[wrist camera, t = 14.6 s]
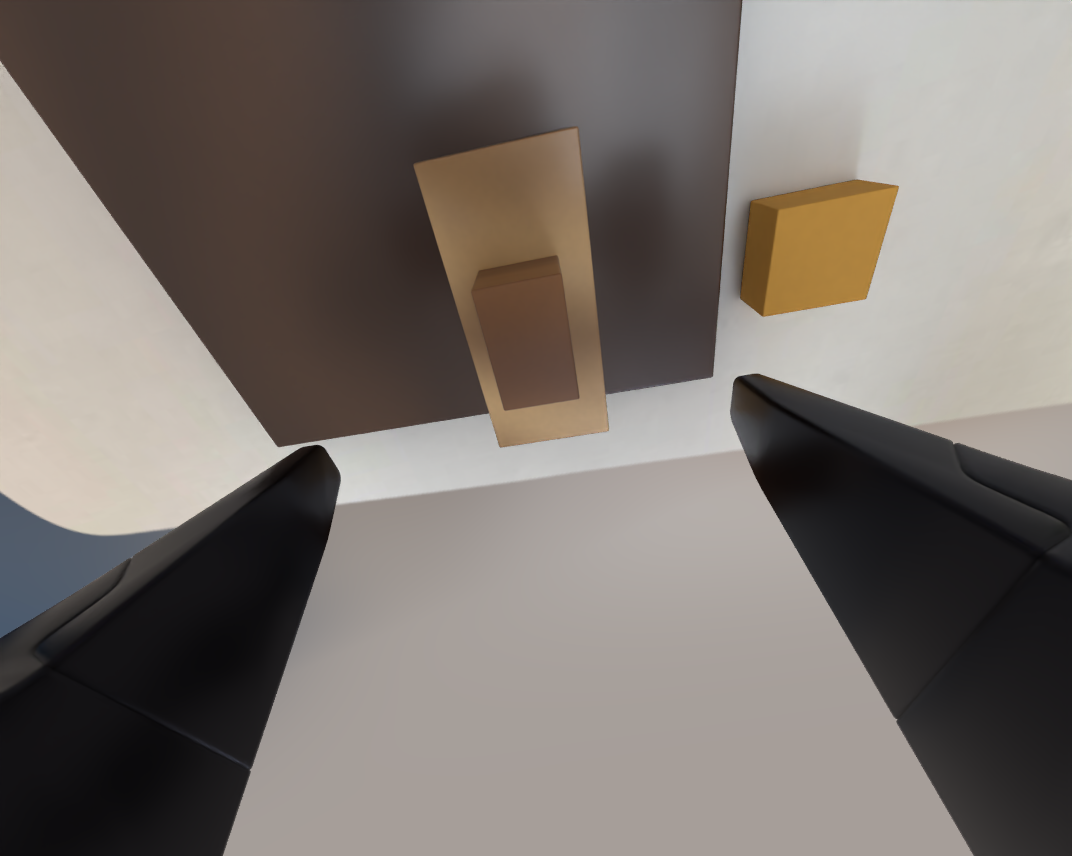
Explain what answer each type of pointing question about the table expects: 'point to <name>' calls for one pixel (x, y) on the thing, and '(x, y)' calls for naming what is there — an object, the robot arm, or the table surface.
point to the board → (387, 176)
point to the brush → (523, 281)
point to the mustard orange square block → (814, 246)
